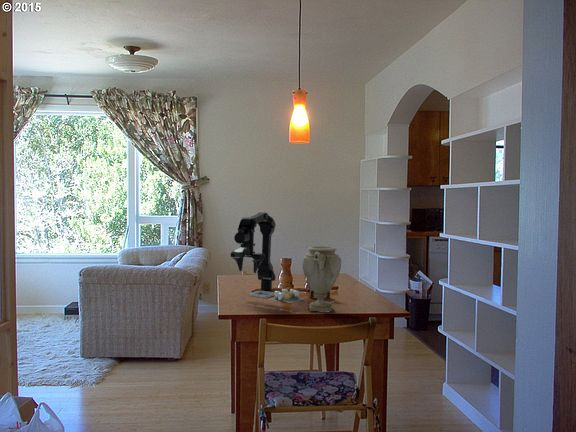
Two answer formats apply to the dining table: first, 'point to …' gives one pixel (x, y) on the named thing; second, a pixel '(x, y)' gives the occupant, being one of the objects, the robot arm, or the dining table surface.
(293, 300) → the spacer board
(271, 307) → the dining table surface
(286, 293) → the brass nut
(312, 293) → the ammunition clip
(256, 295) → the tray
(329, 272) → the urn
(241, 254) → the robot arm
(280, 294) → the spacer posts
